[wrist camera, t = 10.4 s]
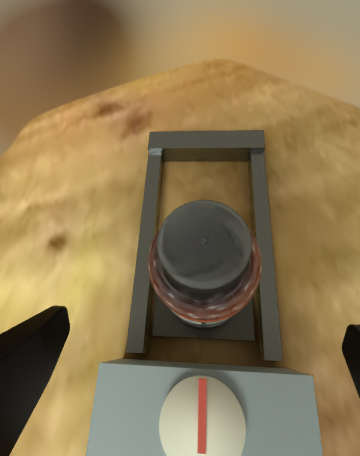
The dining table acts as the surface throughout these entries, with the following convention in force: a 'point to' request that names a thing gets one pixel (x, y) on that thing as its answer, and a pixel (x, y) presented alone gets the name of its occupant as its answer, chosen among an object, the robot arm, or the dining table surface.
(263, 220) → the grey rectangular frame
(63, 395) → the dining table surface
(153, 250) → the supplement bottle
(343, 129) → the dining table surface
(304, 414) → the gray rotary dial box
